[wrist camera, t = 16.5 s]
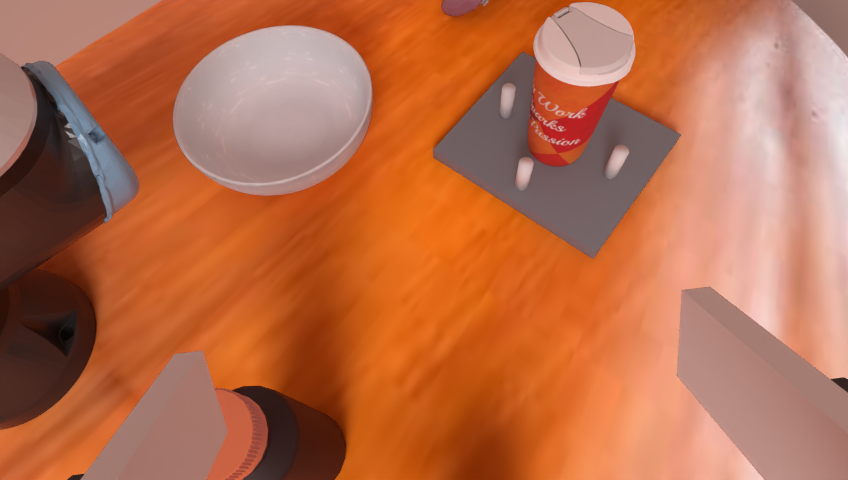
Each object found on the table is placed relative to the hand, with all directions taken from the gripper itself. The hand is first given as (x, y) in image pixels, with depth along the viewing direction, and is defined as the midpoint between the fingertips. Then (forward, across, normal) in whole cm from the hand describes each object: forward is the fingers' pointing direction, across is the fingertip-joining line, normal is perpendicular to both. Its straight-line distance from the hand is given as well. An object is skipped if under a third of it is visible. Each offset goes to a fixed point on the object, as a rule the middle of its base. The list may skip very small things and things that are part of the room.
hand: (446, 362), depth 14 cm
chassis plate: (+44, +15, -4) cm, 46 cm away
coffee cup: (+43, +15, -3) cm, 45 cm away
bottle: (+24, -13, -24) cm, 36 cm away
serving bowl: (+48, -14, 0) cm, 50 cm away
